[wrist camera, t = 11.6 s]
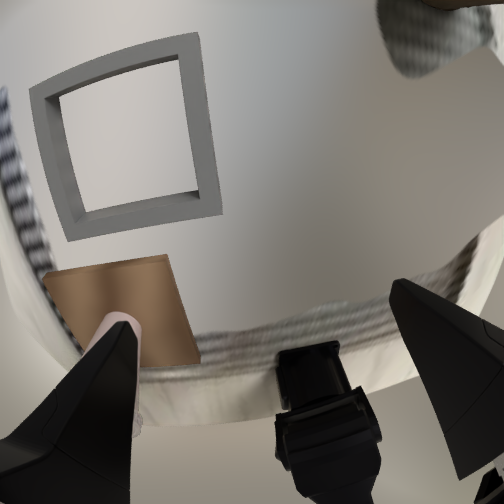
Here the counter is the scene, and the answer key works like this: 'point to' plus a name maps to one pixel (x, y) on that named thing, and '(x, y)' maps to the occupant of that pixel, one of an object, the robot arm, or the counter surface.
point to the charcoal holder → (58, 156)
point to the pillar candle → (459, 3)
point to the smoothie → (121, 316)
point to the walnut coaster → (128, 306)
